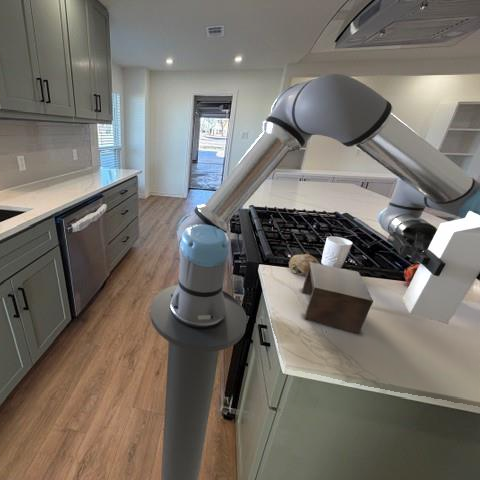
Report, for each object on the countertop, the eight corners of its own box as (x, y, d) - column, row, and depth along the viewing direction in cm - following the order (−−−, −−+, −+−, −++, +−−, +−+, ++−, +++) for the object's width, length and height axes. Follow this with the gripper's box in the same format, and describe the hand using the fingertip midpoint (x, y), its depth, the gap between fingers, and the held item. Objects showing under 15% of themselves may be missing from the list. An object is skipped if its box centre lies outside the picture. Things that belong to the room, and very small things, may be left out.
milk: (409, 314, 54) (461, 215, 45) (401, 299, 59) (447, 207, 50) (448, 324, 51) (511, 221, 42) (437, 308, 56) (491, 212, 47)
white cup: (332, 259, 100) (339, 235, 96) (348, 269, 93) (358, 244, 89) (314, 260, 99) (321, 236, 95) (330, 270, 92) (338, 245, 88)
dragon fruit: (429, 287, 86) (406, 298, 83) (409, 265, 90) (387, 275, 86) (457, 278, 79) (433, 290, 75) (435, 255, 82) (411, 265, 79)
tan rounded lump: (283, 276, 94) (283, 261, 89) (296, 258, 98) (297, 243, 93) (312, 287, 88) (314, 272, 82) (324, 268, 92) (327, 252, 87)
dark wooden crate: (304, 319, 67) (314, 287, 63) (301, 290, 80) (310, 262, 76) (358, 334, 63) (373, 301, 59) (346, 300, 75) (358, 271, 71)
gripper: (455, 254, 63) (529, 306, 44) (362, 239, 70) (390, 278, 51) (471, 226, 60) (558, 269, 41) (372, 213, 67) (406, 244, 48)
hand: (465, 274), depth 46 cm, fingers closed on milk, 6 cm apart
